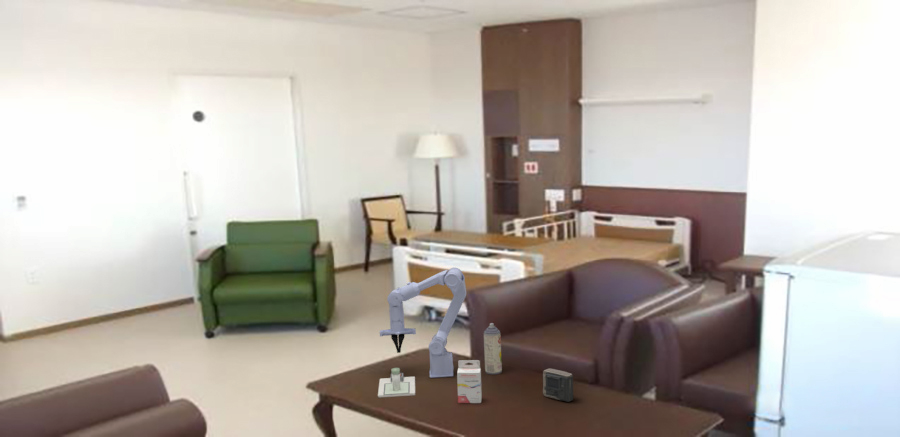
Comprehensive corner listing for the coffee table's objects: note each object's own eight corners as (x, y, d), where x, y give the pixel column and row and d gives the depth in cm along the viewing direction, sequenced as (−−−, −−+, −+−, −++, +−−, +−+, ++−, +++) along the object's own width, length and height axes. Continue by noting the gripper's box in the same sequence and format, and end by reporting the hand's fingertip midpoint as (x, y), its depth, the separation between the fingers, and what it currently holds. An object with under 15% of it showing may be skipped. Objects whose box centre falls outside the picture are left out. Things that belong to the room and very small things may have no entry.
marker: (400, 387, 275) (399, 367, 274) (400, 390, 272) (399, 370, 271) (392, 387, 275) (391, 367, 274) (392, 391, 272) (391, 370, 271)
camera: (576, 399, 258) (575, 372, 256) (567, 404, 254) (566, 377, 252) (550, 392, 266) (549, 366, 264) (540, 397, 261) (540, 370, 260)
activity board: (414, 378, 287) (414, 372, 286) (415, 395, 269) (414, 388, 269) (379, 380, 286) (379, 374, 286) (377, 397, 268) (377, 390, 268)
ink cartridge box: (457, 403, 259) (455, 364, 257) (459, 398, 264) (457, 359, 262) (481, 403, 258) (479, 364, 256) (482, 398, 263) (480, 359, 261)
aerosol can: (503, 373, 287) (501, 325, 284) (486, 375, 287) (484, 326, 284) (500, 368, 294) (498, 320, 291) (484, 369, 293) (482, 322, 291)
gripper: (378, 323, 285) (380, 356, 287) (414, 321, 286) (416, 353, 288) (379, 318, 292) (381, 350, 294) (414, 316, 293) (416, 348, 295)
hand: (398, 351), depth 291 cm, fingers closed
